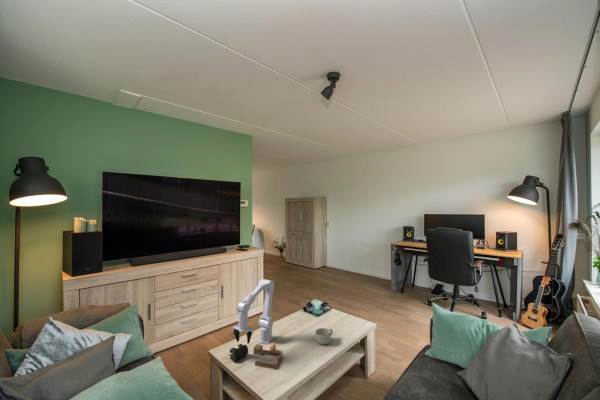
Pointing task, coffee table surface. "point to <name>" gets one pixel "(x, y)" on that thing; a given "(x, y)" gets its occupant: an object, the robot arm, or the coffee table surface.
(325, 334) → the teacup
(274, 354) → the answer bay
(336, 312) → the coffee table surface
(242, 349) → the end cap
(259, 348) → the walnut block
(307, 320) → the coffee table surface
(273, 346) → the tan rounded capsule
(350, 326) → the coffee table surface
